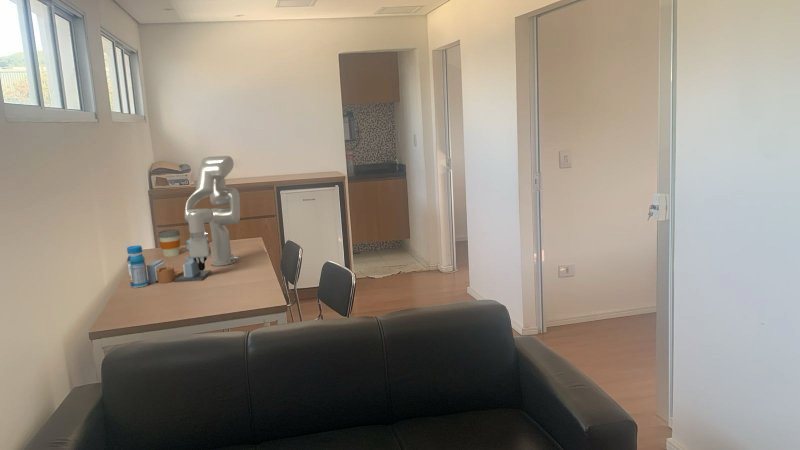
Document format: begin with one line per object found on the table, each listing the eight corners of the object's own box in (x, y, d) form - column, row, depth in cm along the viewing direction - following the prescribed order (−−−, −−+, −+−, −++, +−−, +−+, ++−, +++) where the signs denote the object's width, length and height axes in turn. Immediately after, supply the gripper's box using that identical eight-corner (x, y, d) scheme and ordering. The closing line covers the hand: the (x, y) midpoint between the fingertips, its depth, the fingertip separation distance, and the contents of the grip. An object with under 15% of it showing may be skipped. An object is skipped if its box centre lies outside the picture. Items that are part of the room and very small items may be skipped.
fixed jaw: (166, 276, 327) (164, 259, 326) (157, 282, 314) (155, 265, 313) (158, 276, 327) (156, 260, 326) (148, 283, 314) (146, 265, 313)
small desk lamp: (203, 259, 367) (201, 239, 365) (189, 261, 363) (187, 241, 361) (200, 257, 374) (197, 237, 372) (186, 259, 369) (183, 239, 367)
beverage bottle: (140, 288, 304) (134, 248, 301) (126, 287, 307) (121, 248, 304) (152, 283, 312) (147, 245, 309) (139, 283, 315) (133, 244, 312)
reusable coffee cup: (174, 252, 394) (171, 229, 391) (186, 253, 386) (183, 230, 384) (156, 256, 384) (153, 232, 381) (168, 258, 376) (165, 233, 374)
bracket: (170, 283, 311) (168, 270, 310) (154, 284, 312) (153, 270, 311) (186, 274, 329) (184, 262, 328) (171, 275, 330) (170, 262, 329)
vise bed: (211, 272, 328) (210, 270, 328) (201, 280, 313) (201, 277, 312) (185, 274, 329) (185, 271, 328) (174, 282, 313) (174, 279, 313)
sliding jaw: (200, 271, 327) (199, 258, 326) (192, 277, 314) (191, 263, 313) (192, 271, 327) (191, 258, 326) (184, 277, 314) (182, 264, 313)
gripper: (214, 232, 321) (218, 267, 324) (185, 234, 321) (189, 269, 324) (210, 235, 313) (214, 270, 316) (180, 237, 313) (185, 272, 316)
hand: (202, 270), depth 320 cm, fingers closed
